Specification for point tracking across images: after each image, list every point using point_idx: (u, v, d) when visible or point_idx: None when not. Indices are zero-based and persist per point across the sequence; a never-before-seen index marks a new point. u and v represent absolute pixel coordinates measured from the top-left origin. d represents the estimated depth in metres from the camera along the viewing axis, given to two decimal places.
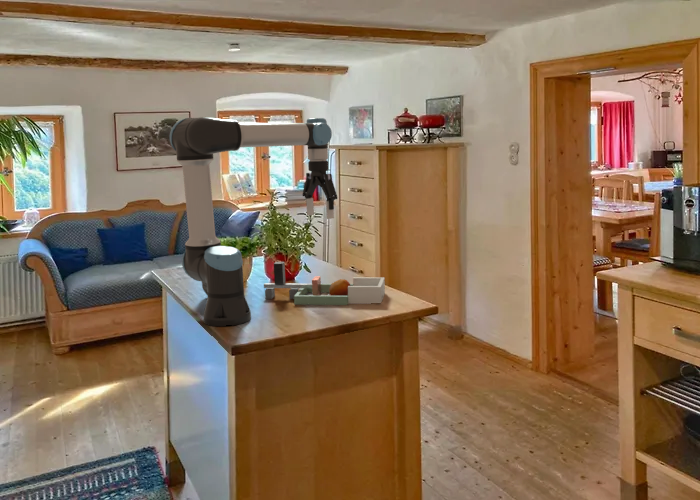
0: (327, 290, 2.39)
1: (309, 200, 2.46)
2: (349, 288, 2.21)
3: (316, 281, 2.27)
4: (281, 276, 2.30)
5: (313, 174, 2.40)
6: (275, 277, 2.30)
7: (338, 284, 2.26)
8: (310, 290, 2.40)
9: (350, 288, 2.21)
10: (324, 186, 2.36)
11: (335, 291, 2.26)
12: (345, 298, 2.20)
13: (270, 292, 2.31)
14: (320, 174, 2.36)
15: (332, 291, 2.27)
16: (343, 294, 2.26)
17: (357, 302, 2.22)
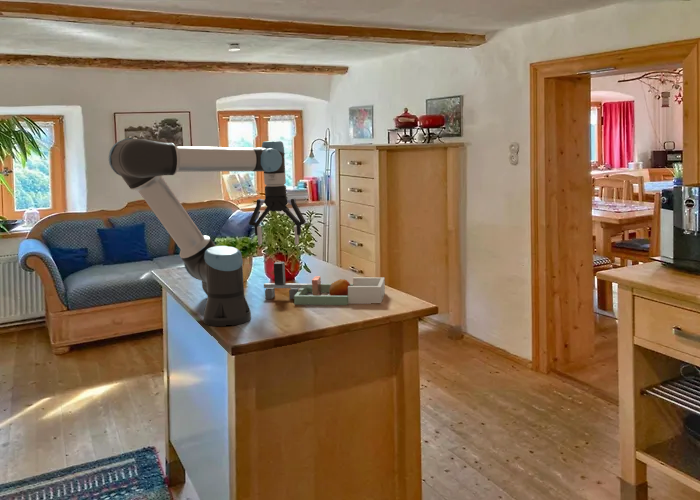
0: (327, 290, 2.39)
1: None
2: (349, 288, 2.21)
3: (316, 281, 2.27)
4: (281, 276, 2.30)
5: None
6: (275, 277, 2.30)
7: (338, 284, 2.26)
8: (310, 290, 2.40)
9: (350, 288, 2.21)
10: None
11: (335, 291, 2.26)
12: (345, 298, 2.20)
13: (270, 292, 2.31)
14: None
15: (332, 291, 2.27)
16: (343, 294, 2.26)
17: (357, 302, 2.22)
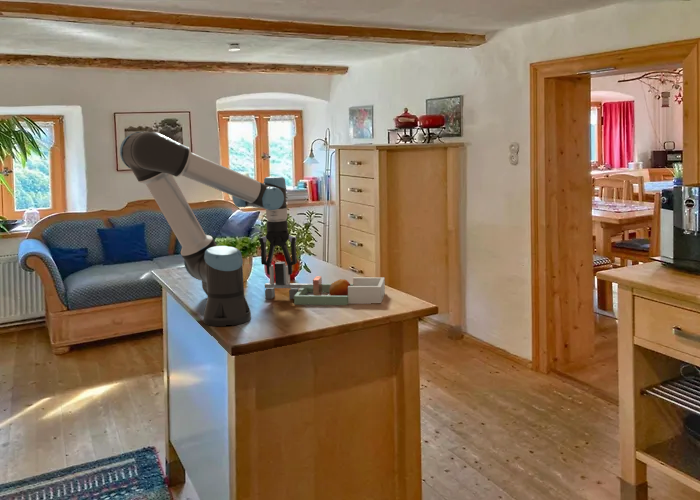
0: (327, 290, 2.39)
1: None
2: (349, 288, 2.21)
3: (317, 281, 2.27)
4: (282, 276, 2.30)
5: None
6: (276, 277, 2.30)
7: (338, 284, 2.26)
8: (310, 290, 2.40)
9: (350, 288, 2.21)
10: None
11: (335, 291, 2.26)
12: (345, 298, 2.20)
13: (270, 292, 2.31)
14: None
15: (332, 291, 2.27)
16: (343, 294, 2.26)
17: (357, 302, 2.22)
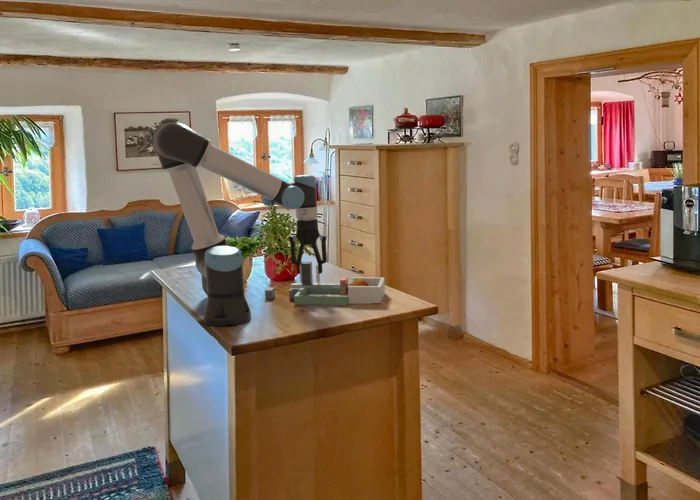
0: (327, 290, 2.39)
1: None
2: (349, 288, 2.21)
3: (344, 281, 2.26)
4: (309, 276, 2.29)
5: None
6: (303, 277, 2.29)
7: (356, 284, 2.25)
8: (310, 290, 2.40)
9: (350, 288, 2.21)
10: None
11: None
12: (345, 298, 2.20)
13: (270, 292, 2.31)
14: None
15: None
16: None
17: (357, 302, 2.22)
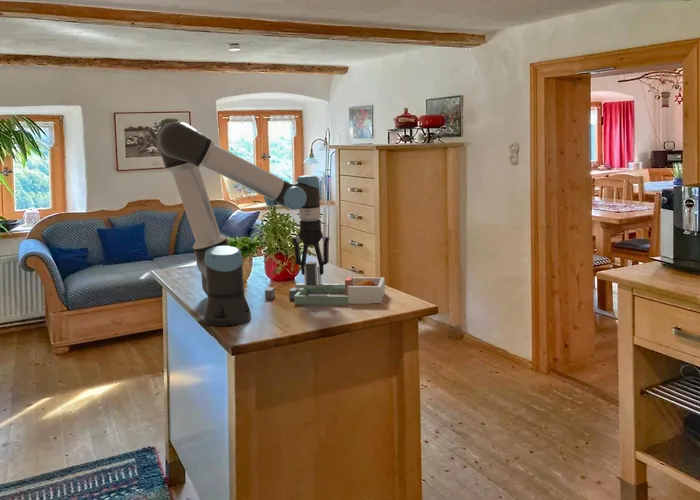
0: (327, 290, 2.39)
1: None
2: (349, 288, 2.21)
3: (349, 281, 2.25)
4: (313, 276, 2.28)
5: None
6: (307, 277, 2.29)
7: (362, 285, 2.24)
8: (310, 290, 2.40)
9: (350, 288, 2.21)
10: None
11: None
12: (345, 298, 2.20)
13: (270, 292, 2.31)
14: None
15: None
16: None
17: (357, 302, 2.22)
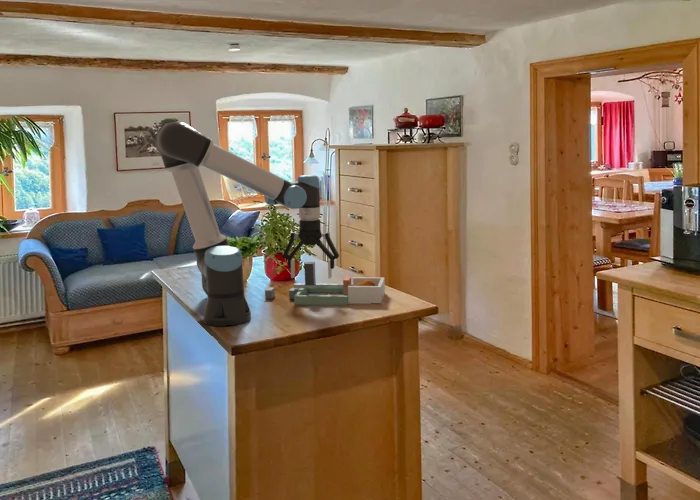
0: (327, 290, 2.39)
1: None
2: (349, 288, 2.21)
3: (347, 281, 2.25)
4: (312, 276, 2.28)
5: None
6: (306, 277, 2.29)
7: (362, 285, 2.24)
8: (310, 290, 2.40)
9: (350, 288, 2.21)
10: None
11: None
12: (345, 298, 2.20)
13: (270, 292, 2.31)
14: None
15: None
16: None
17: (357, 302, 2.22)
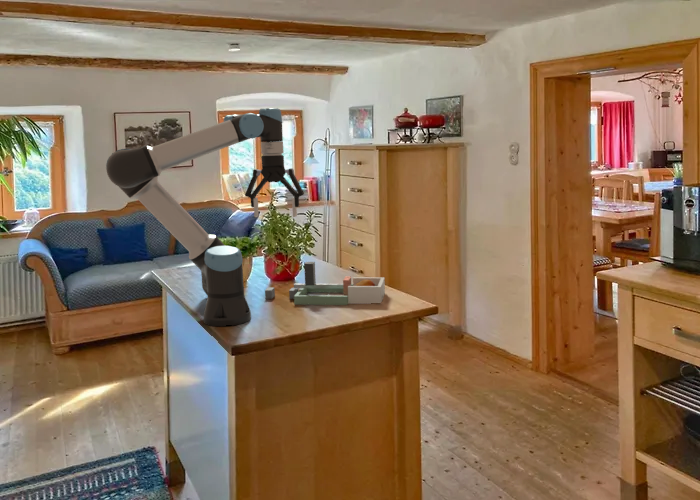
0: (327, 290, 2.39)
1: None
2: (349, 288, 2.21)
3: (347, 281, 2.25)
4: (312, 276, 2.28)
5: None
6: (306, 277, 2.29)
7: (362, 285, 2.24)
8: (310, 290, 2.40)
9: (350, 288, 2.21)
10: None
11: None
12: (345, 298, 2.20)
13: (270, 292, 2.31)
14: None
15: None
16: None
17: (357, 302, 2.22)
